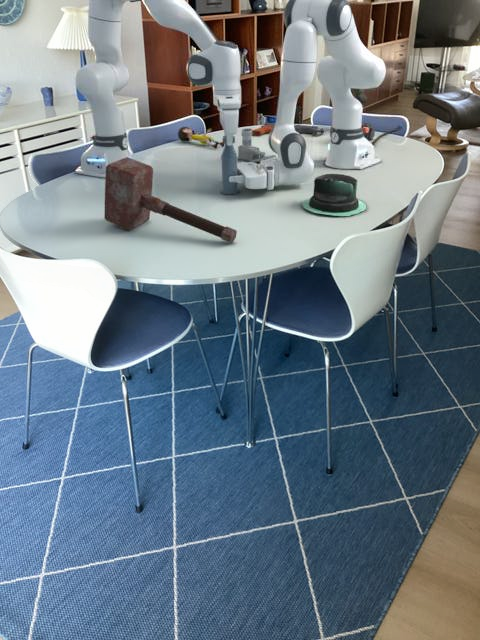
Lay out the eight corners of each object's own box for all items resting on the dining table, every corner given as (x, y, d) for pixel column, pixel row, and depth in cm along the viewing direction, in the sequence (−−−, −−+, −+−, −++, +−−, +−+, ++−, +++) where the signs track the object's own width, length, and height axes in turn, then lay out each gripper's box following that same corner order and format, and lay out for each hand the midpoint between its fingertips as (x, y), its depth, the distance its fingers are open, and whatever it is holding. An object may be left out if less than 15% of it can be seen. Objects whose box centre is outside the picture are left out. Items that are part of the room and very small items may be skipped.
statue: (367, 132, 266) (374, 63, 251) (349, 133, 264) (355, 64, 249) (357, 127, 275) (362, 61, 260) (339, 129, 273) (344, 62, 258)
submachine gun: (243, 132, 260) (267, 122, 278) (243, 138, 261) (267, 127, 280) (305, 138, 246) (326, 127, 265) (305, 144, 248) (326, 133, 266)
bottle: (226, 195, 187) (224, 141, 178) (219, 191, 191) (218, 138, 182) (240, 193, 189) (239, 139, 180) (233, 189, 193) (232, 136, 184)
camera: (247, 126, 226) (276, 132, 217) (247, 155, 232) (275, 162, 223) (233, 130, 220) (262, 135, 212) (233, 160, 226) (261, 166, 218)
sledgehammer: (247, 201, 148) (125, 155, 160) (230, 213, 141) (104, 163, 152) (236, 257, 158) (122, 210, 170) (220, 270, 151) (102, 220, 162)
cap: (223, 141, 184) (223, 135, 183) (235, 141, 183) (235, 135, 182) (221, 143, 181) (221, 137, 180) (233, 144, 180) (233, 138, 179)
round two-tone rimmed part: (371, 195, 181) (367, 217, 164) (320, 217, 189) (311, 241, 173) (352, 153, 175) (346, 172, 159) (300, 178, 184) (289, 199, 168)
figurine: (211, 139, 238) (170, 125, 250) (210, 157, 242) (170, 142, 255) (230, 134, 247) (190, 120, 259) (229, 150, 251) (189, 136, 263)
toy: (345, 120, 249) (377, 123, 242) (343, 139, 253) (375, 143, 246) (337, 123, 243) (369, 127, 236) (336, 143, 247) (367, 147, 240)
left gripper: (214, 94, 184) (216, 136, 191) (220, 104, 166) (222, 151, 173) (233, 93, 184) (234, 136, 191) (241, 103, 167) (242, 150, 174)
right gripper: (259, 156, 197) (221, 159, 195) (274, 171, 179) (232, 175, 177) (259, 174, 200) (222, 177, 198) (274, 191, 183) (232, 194, 180)
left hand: (228, 143), depth 182 cm, fingers closed on cap, 4 cm apart
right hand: (227, 176), depth 187 cm, fingers closed on bottle, 5 cm apart
